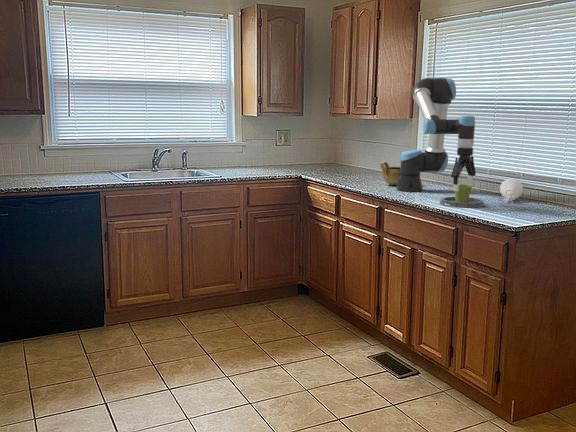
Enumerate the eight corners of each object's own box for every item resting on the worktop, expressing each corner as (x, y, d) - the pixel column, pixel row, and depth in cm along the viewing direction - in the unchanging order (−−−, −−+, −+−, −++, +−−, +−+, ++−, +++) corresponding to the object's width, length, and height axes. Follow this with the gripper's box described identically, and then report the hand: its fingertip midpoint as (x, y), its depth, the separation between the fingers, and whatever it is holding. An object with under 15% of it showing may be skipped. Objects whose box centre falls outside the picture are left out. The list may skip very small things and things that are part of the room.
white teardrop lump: (512, 185, 298) (513, 174, 314) (493, 198, 304) (495, 186, 320) (526, 203, 299) (527, 190, 314) (507, 215, 305) (509, 202, 320)
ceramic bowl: (388, 187, 357) (389, 163, 354) (373, 184, 372) (374, 160, 370) (418, 186, 366) (419, 161, 363) (402, 182, 381) (403, 159, 378)
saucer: (431, 203, 299) (431, 199, 298) (453, 199, 314) (453, 195, 314) (471, 209, 284) (471, 204, 283) (492, 204, 299) (492, 199, 298)
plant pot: (449, 202, 298) (450, 185, 296) (456, 200, 305) (457, 183, 304) (467, 204, 292) (468, 187, 291) (474, 202, 300) (475, 185, 298)
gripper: (459, 148, 282) (456, 192, 286) (484, 146, 300) (481, 188, 304) (445, 148, 288) (443, 191, 291) (470, 145, 305) (468, 186, 309)
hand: (462, 189), depth 298 cm, fingers open, 13 cm apart
